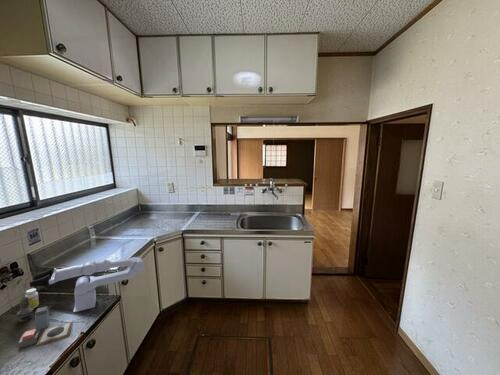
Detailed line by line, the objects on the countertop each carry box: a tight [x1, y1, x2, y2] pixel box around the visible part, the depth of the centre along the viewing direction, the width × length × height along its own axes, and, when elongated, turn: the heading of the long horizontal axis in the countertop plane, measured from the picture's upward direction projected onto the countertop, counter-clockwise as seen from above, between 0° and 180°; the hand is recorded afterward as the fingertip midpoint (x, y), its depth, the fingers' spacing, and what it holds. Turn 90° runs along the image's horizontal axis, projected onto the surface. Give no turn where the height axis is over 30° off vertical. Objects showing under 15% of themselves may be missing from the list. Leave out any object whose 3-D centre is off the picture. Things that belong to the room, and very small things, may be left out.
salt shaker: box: [16, 295, 34, 322], centre depth 110 cm, size 6×6×12 cm
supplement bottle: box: [24, 287, 40, 309], centre depth 119 cm, size 5×5×10 cm
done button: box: [21, 328, 37, 340], centre depth 97 cm, size 4×4×2 cm
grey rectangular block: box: [34, 305, 50, 331], centre depth 105 cm, size 4×4×9 cm
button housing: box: [18, 329, 41, 349], centre depth 97 cm, size 6×6×3 cm
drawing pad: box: [36, 321, 74, 347], centre depth 101 cm, size 11×10×1 cm
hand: (32, 281), depth 108 cm, fingers open, 7 cm apart
